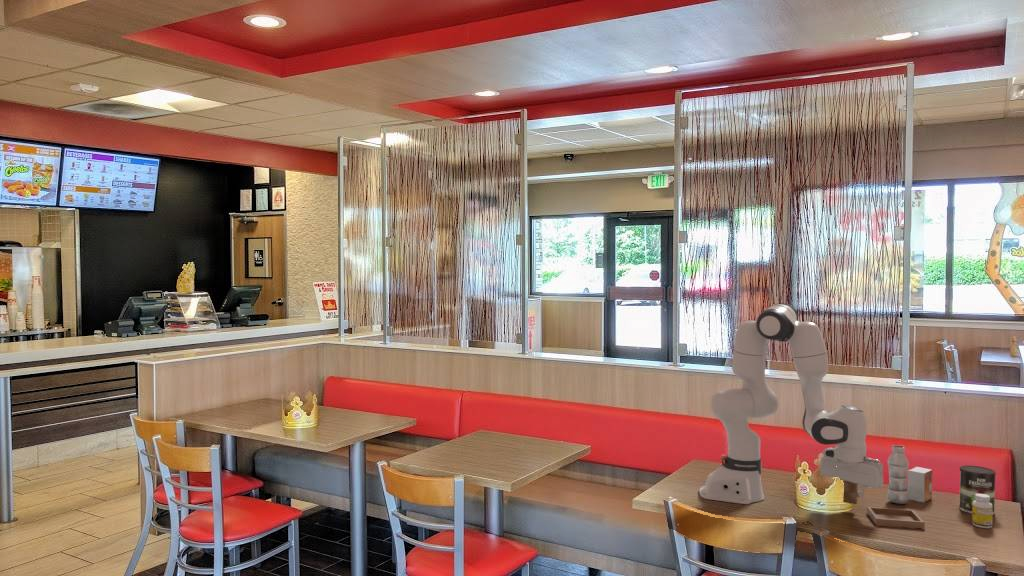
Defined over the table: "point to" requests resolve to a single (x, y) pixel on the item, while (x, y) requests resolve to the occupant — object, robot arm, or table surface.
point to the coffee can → (975, 486)
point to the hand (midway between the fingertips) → (850, 494)
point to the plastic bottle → (898, 476)
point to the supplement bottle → (982, 511)
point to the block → (850, 492)
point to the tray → (895, 517)
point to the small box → (920, 484)
